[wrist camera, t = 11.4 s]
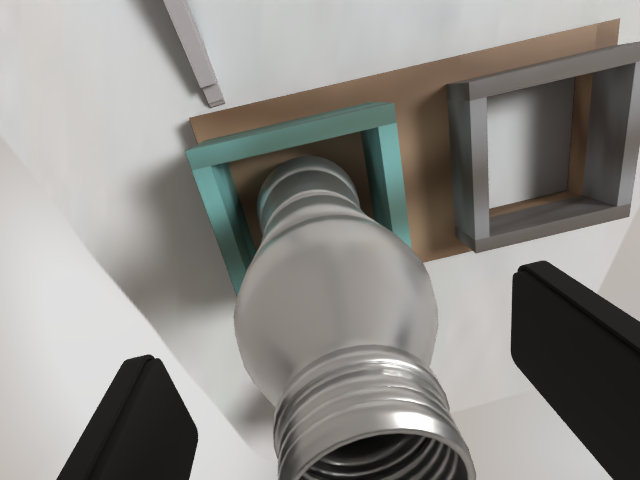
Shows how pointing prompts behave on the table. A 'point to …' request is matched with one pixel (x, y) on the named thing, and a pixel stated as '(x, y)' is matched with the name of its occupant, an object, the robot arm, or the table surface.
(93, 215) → the table surface
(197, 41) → the caliper
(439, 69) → the sorting tray
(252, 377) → the metal bottle
